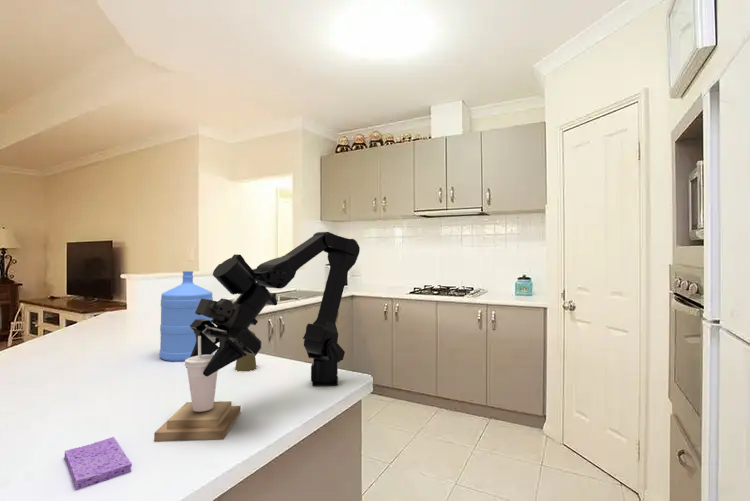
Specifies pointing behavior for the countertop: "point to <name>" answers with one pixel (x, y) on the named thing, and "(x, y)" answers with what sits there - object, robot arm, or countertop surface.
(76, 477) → the sponges
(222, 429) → the walnut base
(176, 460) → the countertop surface
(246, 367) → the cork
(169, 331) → the water jug
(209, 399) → the smoothie
